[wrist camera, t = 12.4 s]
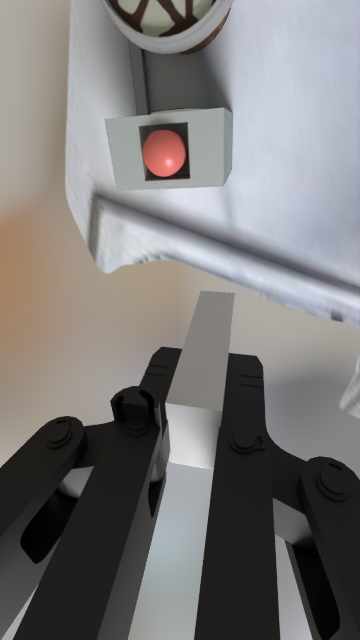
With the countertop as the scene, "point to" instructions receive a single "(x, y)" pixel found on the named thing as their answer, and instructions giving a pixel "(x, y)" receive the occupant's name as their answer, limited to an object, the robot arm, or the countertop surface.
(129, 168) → the cabinet
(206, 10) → the food container
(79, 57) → the countertop surface
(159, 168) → the button
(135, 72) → the guide rail
